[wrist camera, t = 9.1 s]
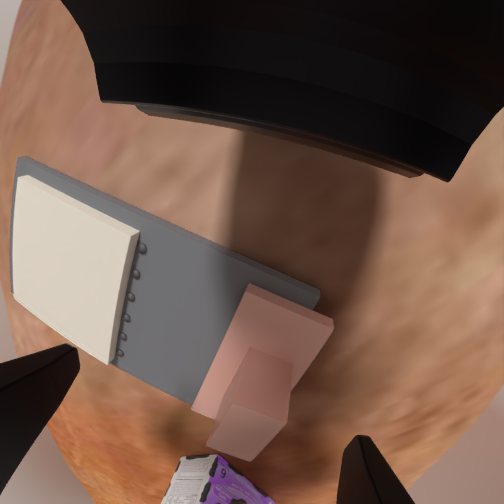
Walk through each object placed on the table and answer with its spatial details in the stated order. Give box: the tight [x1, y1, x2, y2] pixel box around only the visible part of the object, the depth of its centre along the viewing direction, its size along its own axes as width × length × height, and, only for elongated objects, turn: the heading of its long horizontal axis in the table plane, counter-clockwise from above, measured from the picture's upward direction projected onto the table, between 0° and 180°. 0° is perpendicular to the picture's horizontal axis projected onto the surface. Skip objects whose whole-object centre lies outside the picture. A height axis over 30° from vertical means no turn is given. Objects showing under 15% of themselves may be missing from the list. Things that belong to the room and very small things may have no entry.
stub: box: [191, 283, 334, 462], centre depth 17 cm, size 6×12×6 cm, turn 157°
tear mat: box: [10, 156, 321, 405], centre depth 21 cm, size 26×14×1 cm, turn 67°
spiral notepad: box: [12, 175, 147, 365], centre depth 20 cm, size 13×12×1 cm
